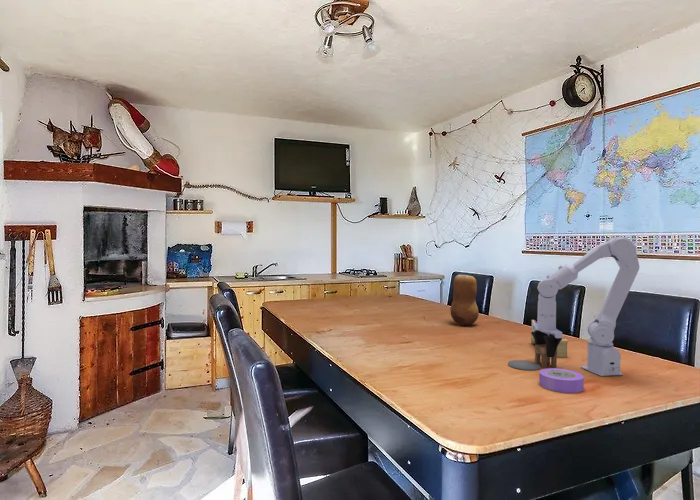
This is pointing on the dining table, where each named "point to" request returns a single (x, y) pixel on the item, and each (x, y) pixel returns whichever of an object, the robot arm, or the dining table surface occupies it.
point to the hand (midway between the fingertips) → (545, 354)
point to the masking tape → (561, 380)
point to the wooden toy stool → (544, 356)
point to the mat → (523, 365)
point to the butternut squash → (464, 300)
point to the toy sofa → (561, 347)
